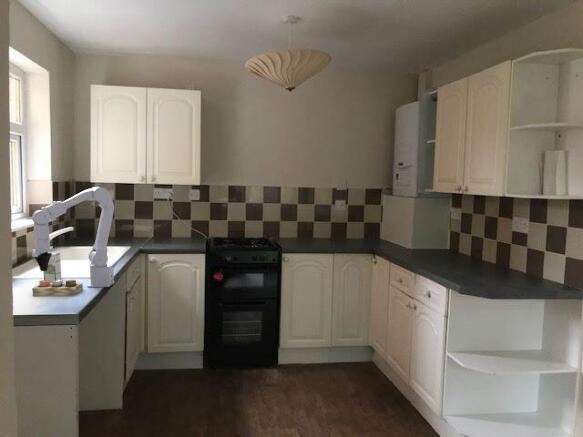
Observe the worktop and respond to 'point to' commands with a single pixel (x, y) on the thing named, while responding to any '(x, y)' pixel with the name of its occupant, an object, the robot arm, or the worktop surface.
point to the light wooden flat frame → (57, 290)
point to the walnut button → (70, 283)
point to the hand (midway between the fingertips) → (43, 270)
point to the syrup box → (53, 268)
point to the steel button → (57, 283)
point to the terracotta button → (44, 283)
